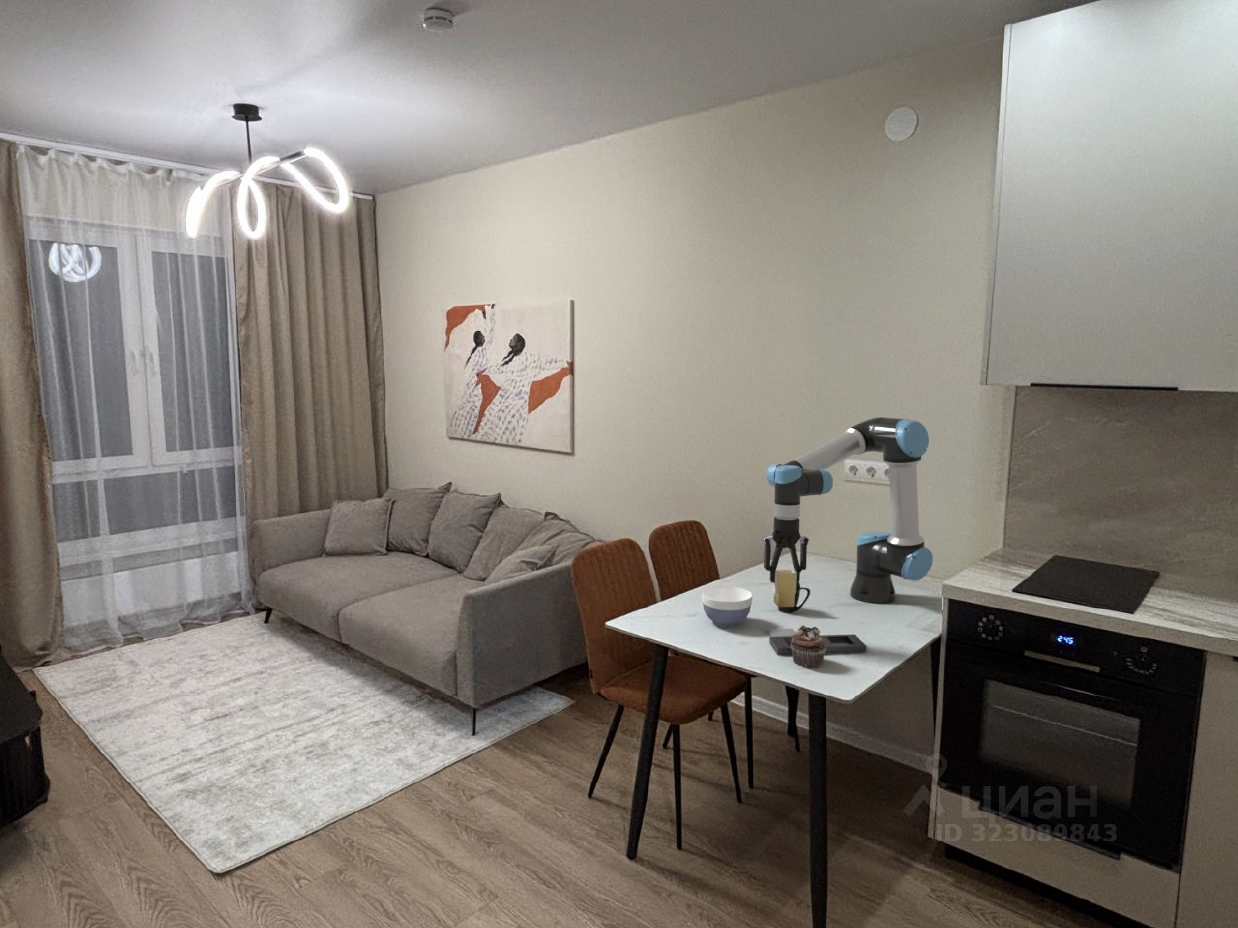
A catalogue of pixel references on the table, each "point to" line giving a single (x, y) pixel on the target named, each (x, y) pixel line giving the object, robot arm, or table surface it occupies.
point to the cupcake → (808, 647)
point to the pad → (780, 632)
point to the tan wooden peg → (785, 589)
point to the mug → (793, 609)
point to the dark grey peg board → (854, 642)
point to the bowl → (727, 605)
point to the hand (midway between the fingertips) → (784, 592)
